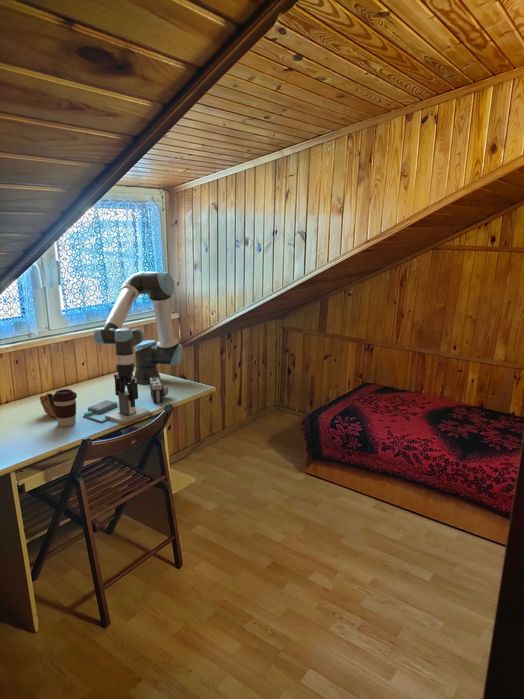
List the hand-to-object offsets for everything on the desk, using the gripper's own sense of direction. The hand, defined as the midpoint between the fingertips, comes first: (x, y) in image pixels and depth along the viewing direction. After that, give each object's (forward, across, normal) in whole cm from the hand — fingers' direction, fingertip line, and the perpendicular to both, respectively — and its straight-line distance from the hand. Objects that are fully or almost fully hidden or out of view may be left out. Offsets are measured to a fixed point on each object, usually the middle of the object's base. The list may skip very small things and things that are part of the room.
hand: (127, 411), depth 213 cm
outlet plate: (+2, 0, 0) cm, 2 cm away
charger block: (+1, 0, 0) cm, 1 cm away
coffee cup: (+2, -14, -22) cm, 26 cm away
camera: (+2, -5, +26) cm, 26 cm away
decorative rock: (+2, -28, -19) cm, 34 cm away
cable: (+2, -9, -10) cm, 14 cm away
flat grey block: (+2, -16, -1) cm, 17 cm away
